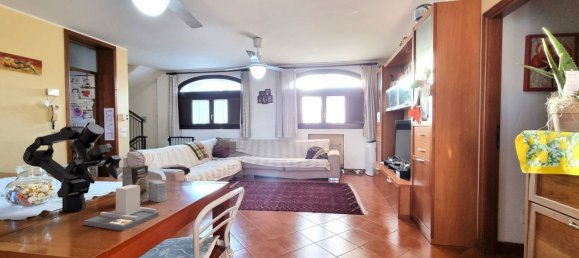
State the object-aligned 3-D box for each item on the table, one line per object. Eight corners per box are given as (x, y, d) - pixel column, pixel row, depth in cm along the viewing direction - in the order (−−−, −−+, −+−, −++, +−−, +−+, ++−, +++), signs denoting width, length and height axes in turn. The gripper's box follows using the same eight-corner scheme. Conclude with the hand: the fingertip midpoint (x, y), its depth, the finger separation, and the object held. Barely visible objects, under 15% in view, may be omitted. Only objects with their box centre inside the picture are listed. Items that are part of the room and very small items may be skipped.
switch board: (84, 224, 90) (84, 217, 90) (123, 211, 104) (123, 204, 104) (123, 230, 85) (123, 222, 85) (158, 215, 99) (158, 209, 99)
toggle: (113, 214, 95) (113, 188, 95) (128, 209, 101) (128, 184, 101) (126, 216, 94) (126, 189, 94) (140, 211, 99) (140, 185, 99)
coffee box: (133, 203, 115) (133, 168, 115) (121, 202, 116) (121, 167, 116) (148, 198, 124) (148, 165, 124) (137, 197, 125) (137, 164, 125)
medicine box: (166, 200, 120) (166, 182, 120) (157, 202, 116) (157, 184, 116) (157, 198, 124) (157, 180, 124) (148, 200, 121) (148, 181, 121)
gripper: (70, 138, 93) (92, 171, 90) (118, 136, 111) (137, 164, 108) (55, 158, 95) (75, 191, 92) (104, 153, 113) (123, 180, 110)
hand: (105, 180), depth 101 cm, fingers open, 9 cm apart
